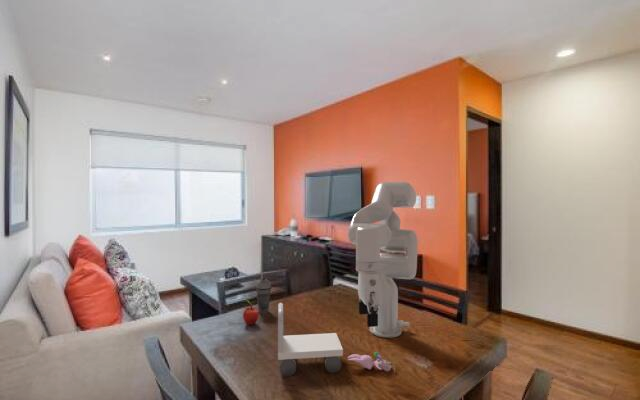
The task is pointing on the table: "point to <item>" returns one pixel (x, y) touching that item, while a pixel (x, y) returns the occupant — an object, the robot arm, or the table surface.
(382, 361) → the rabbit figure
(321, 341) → the trolley
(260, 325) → the table surface
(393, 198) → the robot arm
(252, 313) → the apple
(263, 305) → the beverage cup
